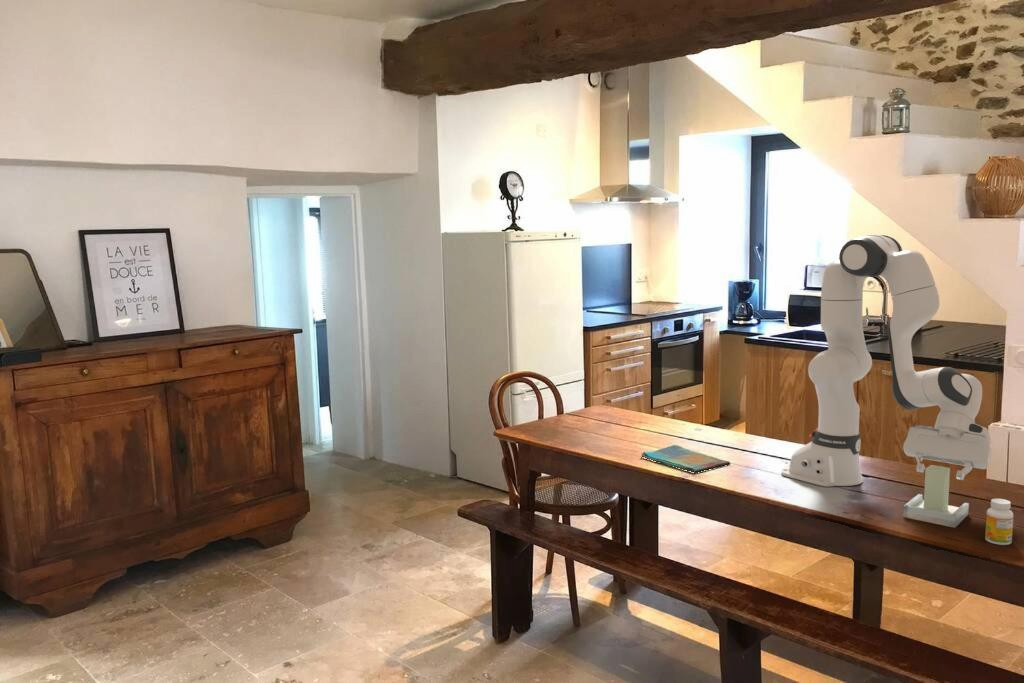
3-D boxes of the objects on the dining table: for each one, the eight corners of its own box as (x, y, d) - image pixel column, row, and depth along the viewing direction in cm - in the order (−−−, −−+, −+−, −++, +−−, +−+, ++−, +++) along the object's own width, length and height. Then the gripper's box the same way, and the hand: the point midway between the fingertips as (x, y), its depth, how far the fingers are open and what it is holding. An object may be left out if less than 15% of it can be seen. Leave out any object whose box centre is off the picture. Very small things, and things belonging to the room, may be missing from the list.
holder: (903, 517, 211) (903, 505, 210) (917, 504, 219) (918, 493, 219) (954, 527, 202) (955, 515, 202) (968, 514, 211) (968, 503, 211)
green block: (923, 510, 211) (925, 468, 209) (928, 506, 214) (930, 464, 212) (942, 514, 208) (944, 471, 206) (947, 509, 211) (950, 467, 209)
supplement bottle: (982, 536, 197) (984, 496, 196) (1008, 538, 195) (1010, 498, 194) (988, 544, 192) (990, 503, 191) (1014, 546, 190) (1017, 505, 189)
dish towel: (676, 450, 279) (676, 443, 278) (731, 466, 260) (731, 458, 259) (639, 459, 269) (639, 452, 268) (693, 476, 250) (693, 468, 249)
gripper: (908, 417, 223) (894, 460, 217) (994, 429, 209) (981, 476, 203) (913, 430, 226) (898, 473, 221) (997, 443, 213) (984, 489, 207)
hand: (939, 474), depth 212 cm, fingers open, 8 cm apart
